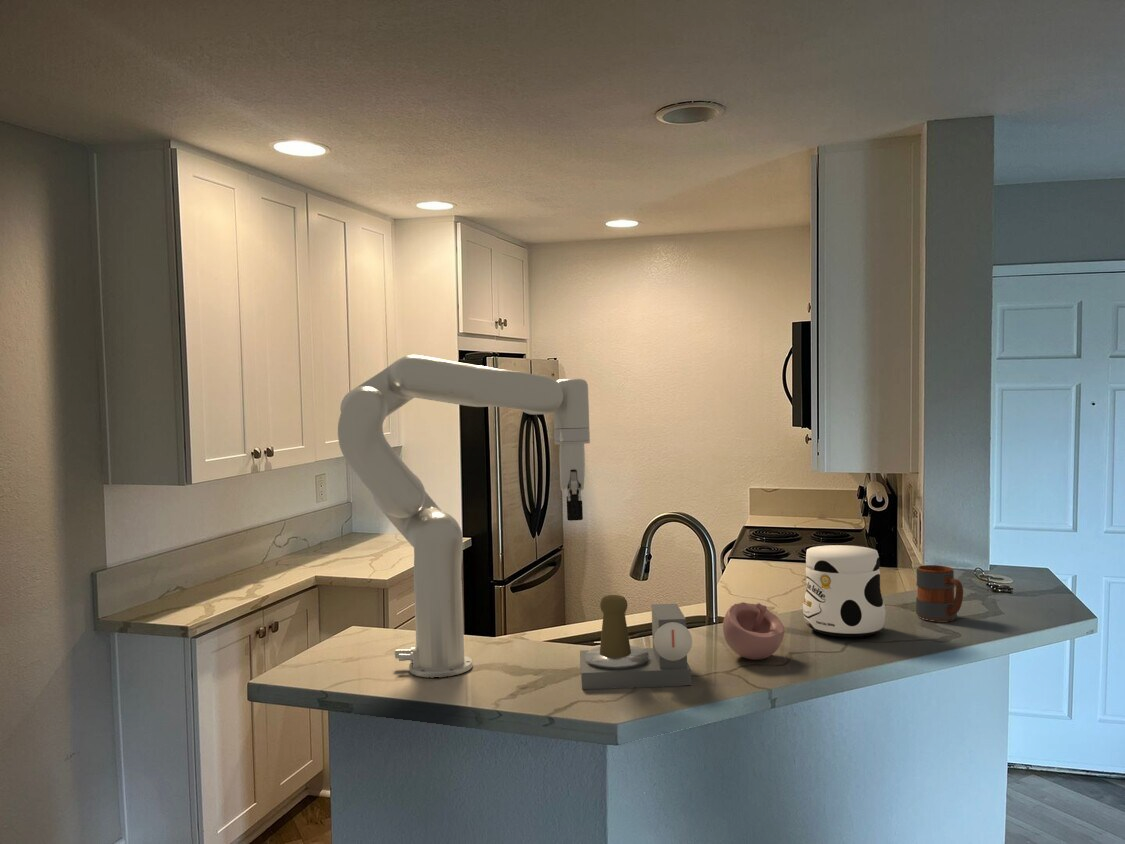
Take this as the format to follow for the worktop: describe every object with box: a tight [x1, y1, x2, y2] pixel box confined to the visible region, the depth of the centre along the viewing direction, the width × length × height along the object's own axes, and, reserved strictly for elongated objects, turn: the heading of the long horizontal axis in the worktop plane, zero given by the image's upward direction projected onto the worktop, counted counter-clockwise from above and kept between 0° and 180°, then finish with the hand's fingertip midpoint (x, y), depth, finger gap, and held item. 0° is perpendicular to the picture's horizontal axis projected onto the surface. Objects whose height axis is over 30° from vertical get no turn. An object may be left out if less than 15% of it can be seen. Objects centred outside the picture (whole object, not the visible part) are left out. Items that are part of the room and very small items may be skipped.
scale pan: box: [586, 645, 649, 669], centre depth 155 cm, size 12×12×1 cm
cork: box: [599, 594, 631, 658], centre depth 156 cm, size 6×6×11 cm
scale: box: [579, 603, 693, 690], centre depth 155 cm, size 20×14×12 cm
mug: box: [915, 564, 964, 622], centre depth 187 cm, size 9×12×12 cm
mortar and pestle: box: [722, 601, 786, 661], centre depth 163 cm, size 12×12×11 cm
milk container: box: [802, 544, 887, 638], centre depth 180 cm, size 17×17×18 cm
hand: (574, 517), depth 173 cm, fingers open, 9 cm apart
